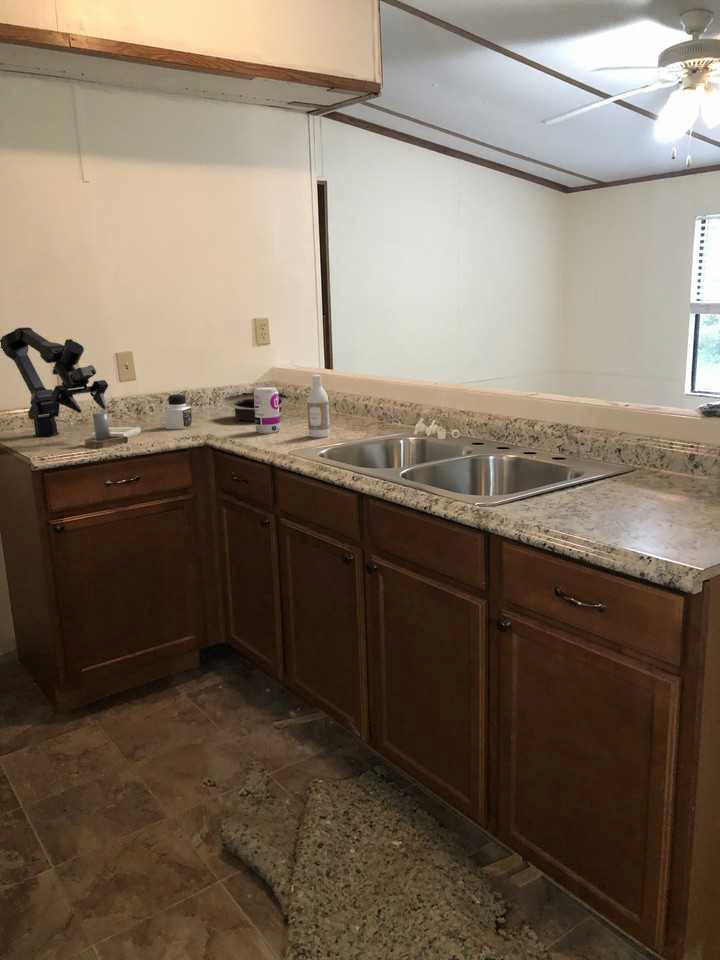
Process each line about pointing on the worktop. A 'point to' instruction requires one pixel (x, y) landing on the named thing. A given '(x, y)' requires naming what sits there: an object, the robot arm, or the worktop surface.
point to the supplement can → (266, 410)
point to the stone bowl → (249, 405)
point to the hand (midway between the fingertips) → (92, 410)
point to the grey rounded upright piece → (101, 426)
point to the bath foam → (318, 410)
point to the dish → (121, 431)
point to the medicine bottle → (178, 413)
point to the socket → (107, 441)
